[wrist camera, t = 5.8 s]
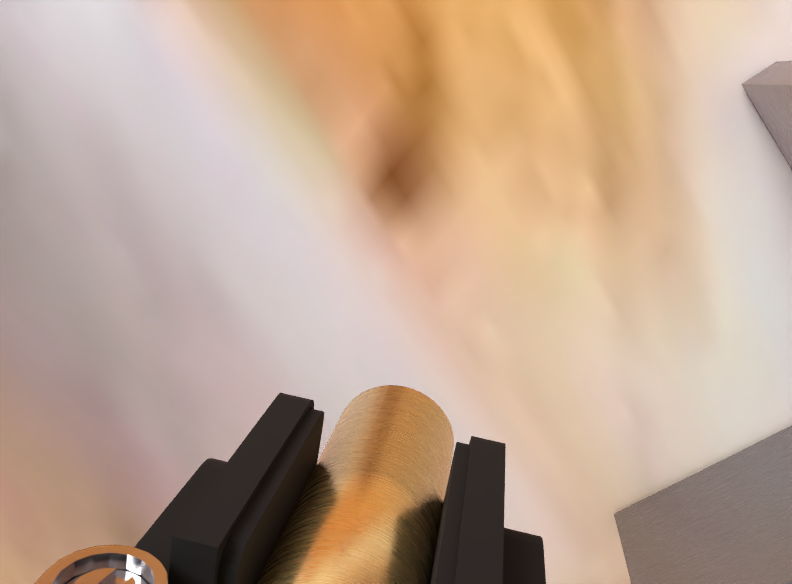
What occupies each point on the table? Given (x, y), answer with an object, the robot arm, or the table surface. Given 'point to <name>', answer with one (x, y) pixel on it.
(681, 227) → the table surface
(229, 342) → the table surface
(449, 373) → the table surface
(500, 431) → the table surface
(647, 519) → the hinge bracket
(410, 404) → the hinge pin
